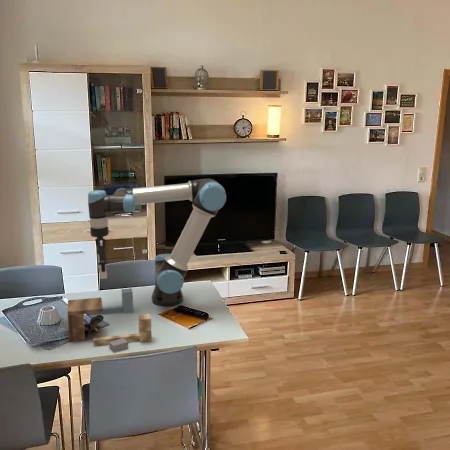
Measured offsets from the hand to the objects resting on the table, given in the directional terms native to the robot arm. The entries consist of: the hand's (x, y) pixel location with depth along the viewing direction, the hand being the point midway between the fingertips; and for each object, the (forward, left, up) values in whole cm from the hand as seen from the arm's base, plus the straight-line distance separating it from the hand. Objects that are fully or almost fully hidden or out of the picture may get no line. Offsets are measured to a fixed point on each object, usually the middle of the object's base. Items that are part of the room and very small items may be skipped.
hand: (102, 273), depth 219 cm
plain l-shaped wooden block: (-6, +28, -20) cm, 35 cm away
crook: (-2, +2, -20) cm, 20 cm away
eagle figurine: (+5, +15, -20) cm, 26 cm away
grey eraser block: (-4, +33, -20) cm, 39 cm away
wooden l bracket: (+8, +17, -20) cm, 27 cm away
